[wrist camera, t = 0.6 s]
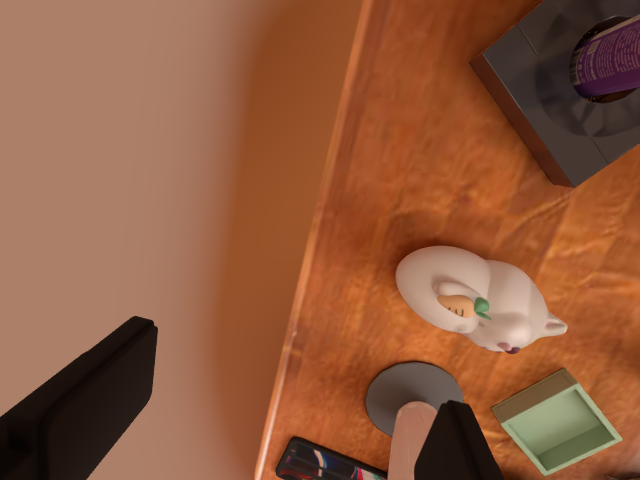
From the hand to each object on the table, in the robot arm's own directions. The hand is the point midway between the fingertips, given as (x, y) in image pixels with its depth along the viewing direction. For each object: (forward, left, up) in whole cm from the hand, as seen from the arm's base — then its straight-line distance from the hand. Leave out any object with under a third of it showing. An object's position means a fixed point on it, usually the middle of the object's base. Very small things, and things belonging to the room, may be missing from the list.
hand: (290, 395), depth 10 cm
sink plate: (-26, +3, -24) cm, 36 cm away
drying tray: (-5, +33, -24) cm, 42 cm away
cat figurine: (-6, +13, -25) cm, 29 cm away
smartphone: (+25, +20, -24) cm, 40 cm away
